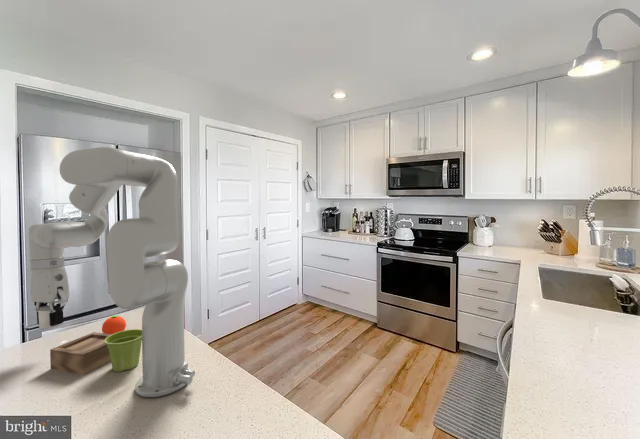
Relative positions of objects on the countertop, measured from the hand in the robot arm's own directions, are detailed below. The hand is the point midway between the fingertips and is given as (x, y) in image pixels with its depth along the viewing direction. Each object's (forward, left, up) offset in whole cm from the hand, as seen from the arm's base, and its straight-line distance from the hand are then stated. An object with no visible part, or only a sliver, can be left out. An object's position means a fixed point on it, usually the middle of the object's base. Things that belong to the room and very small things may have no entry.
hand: (50, 323), depth 87 cm
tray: (-15, -1, -10) cm, 18 cm away
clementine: (-5, -16, -10) cm, 19 cm away
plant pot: (-28, -2, -10) cm, 30 cm away
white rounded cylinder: (0, 0, -1) cm, 1 cm away
